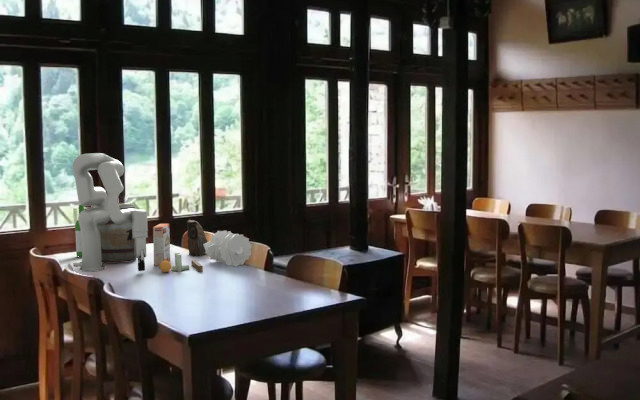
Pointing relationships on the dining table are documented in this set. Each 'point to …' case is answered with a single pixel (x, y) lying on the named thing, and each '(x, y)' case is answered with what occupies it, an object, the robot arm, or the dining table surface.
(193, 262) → the brown wooden bar
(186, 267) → the front pin
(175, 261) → the pin
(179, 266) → the pin
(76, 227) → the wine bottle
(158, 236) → the cracker box
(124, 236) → the barrel
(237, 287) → the dining table surface
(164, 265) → the ball
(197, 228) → the dark brown tall piece
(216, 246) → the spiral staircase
